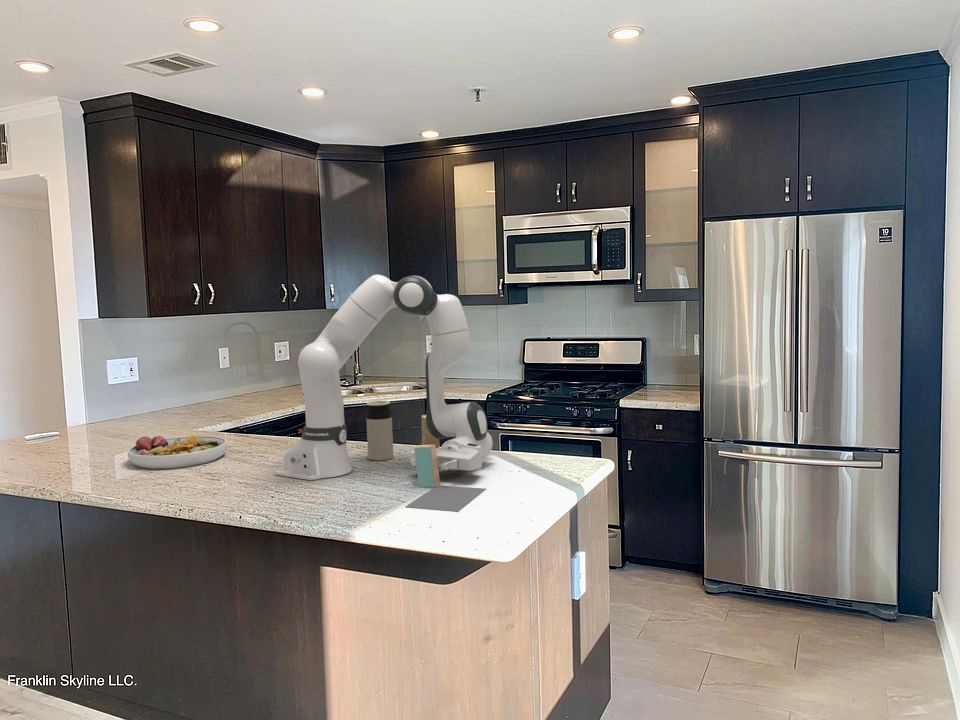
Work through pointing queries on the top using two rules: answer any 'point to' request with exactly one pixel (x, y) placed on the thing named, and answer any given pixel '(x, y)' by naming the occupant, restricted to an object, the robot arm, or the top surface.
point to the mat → (446, 498)
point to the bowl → (176, 451)
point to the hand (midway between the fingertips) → (428, 465)
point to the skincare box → (428, 435)
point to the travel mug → (379, 430)
